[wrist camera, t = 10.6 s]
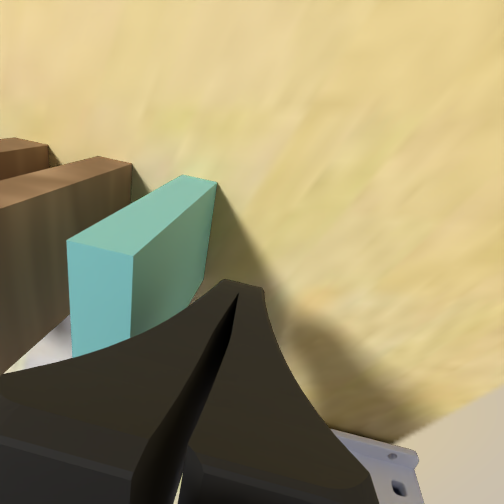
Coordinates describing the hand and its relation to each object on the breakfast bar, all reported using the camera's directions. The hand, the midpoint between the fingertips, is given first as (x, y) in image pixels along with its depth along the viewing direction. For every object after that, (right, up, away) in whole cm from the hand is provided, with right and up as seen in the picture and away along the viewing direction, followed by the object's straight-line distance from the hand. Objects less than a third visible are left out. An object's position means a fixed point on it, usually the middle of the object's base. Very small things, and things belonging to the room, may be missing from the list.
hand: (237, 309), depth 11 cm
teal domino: (-2, +3, +5) cm, 6 cm away
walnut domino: (-6, +4, +5) cm, 9 cm away
